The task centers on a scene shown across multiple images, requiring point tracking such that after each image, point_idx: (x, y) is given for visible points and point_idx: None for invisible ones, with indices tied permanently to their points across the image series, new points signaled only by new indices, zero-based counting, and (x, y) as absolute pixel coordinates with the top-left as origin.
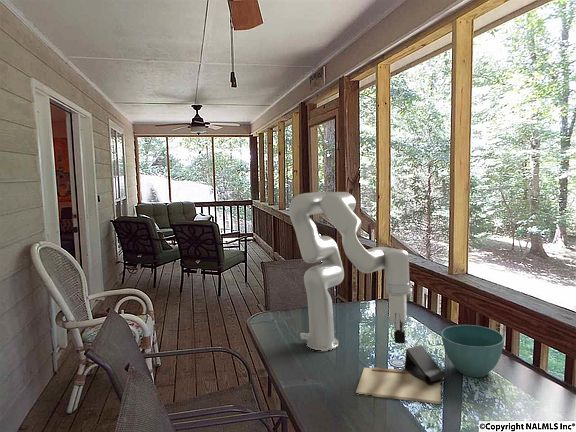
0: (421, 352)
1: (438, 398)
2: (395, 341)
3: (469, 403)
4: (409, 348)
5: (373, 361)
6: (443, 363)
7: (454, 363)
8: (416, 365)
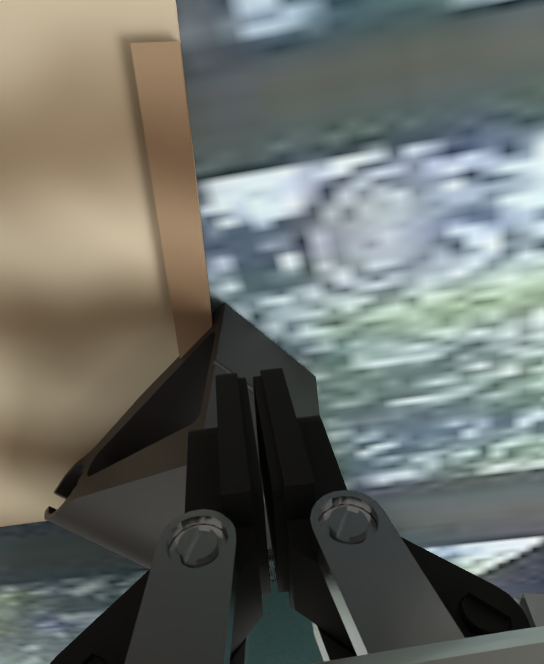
0: None
1: None
2: (216, 389)
3: (12, 607)
4: None
5: (370, 8)
6: (404, 478)
7: (276, 601)
8: (122, 461)
